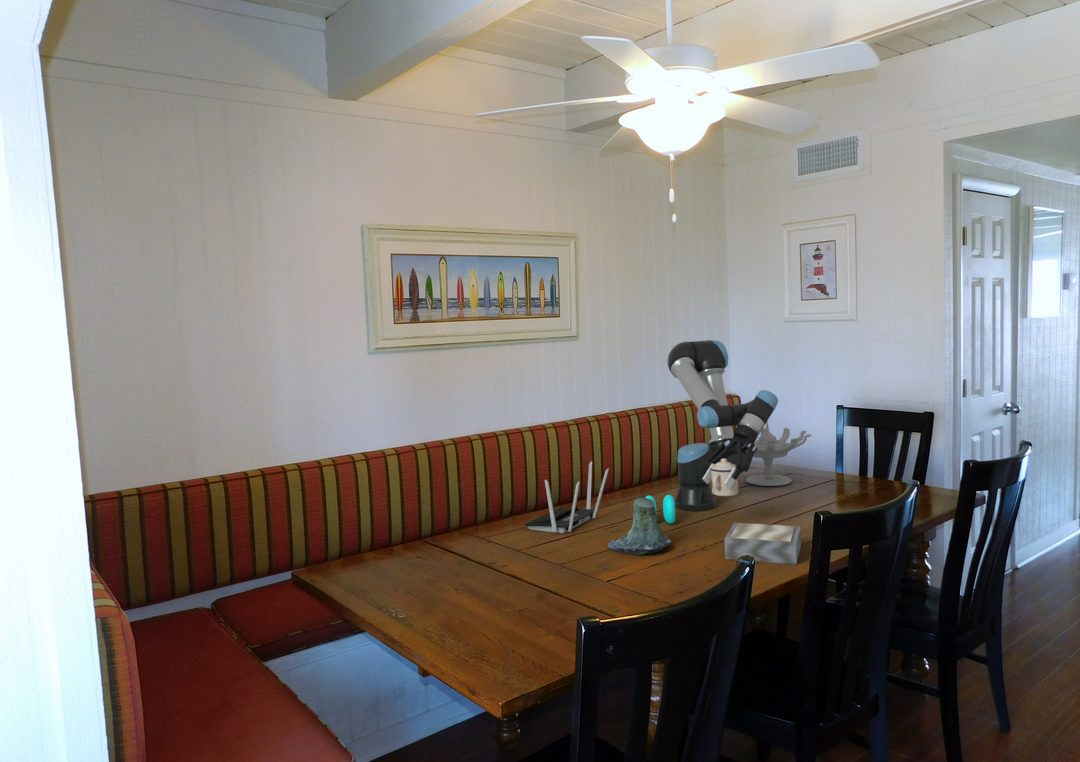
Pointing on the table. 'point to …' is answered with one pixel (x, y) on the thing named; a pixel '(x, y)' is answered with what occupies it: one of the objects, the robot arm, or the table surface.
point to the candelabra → (773, 456)
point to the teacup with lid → (722, 478)
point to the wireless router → (567, 511)
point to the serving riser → (764, 542)
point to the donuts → (667, 508)
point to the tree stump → (641, 532)
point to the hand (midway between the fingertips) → (715, 483)
